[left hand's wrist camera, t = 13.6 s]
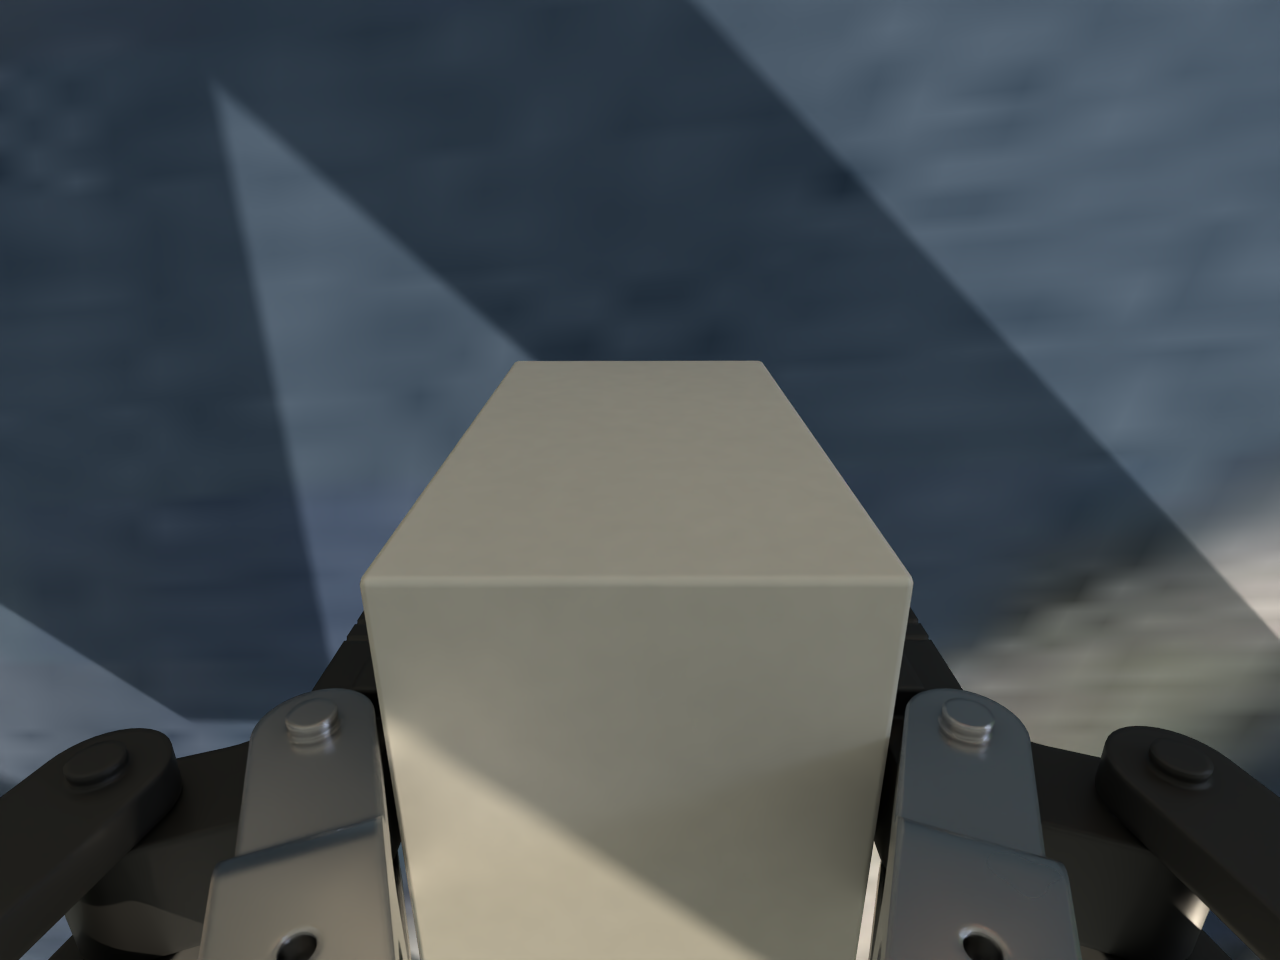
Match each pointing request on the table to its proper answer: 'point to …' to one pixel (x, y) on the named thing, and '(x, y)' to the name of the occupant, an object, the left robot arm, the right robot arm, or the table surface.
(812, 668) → the bar
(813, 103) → the table surface
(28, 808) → the left robot arm
